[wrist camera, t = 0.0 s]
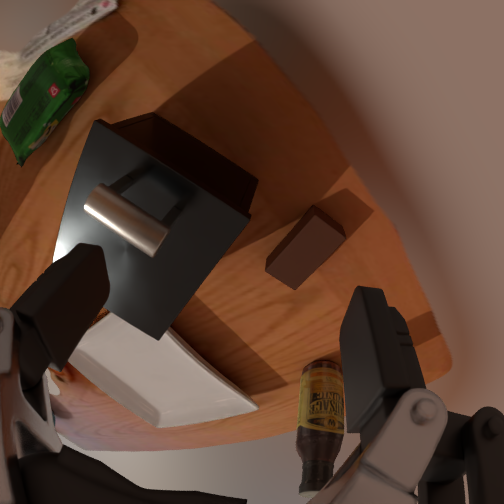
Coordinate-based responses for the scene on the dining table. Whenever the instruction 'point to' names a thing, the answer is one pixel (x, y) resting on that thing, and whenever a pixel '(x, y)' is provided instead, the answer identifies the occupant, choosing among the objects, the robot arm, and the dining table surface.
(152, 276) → the bin lid
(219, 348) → the dining table surface
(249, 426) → the dining table surface
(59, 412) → the dining table surface
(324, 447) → the sauce bottle
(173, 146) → the waste bin
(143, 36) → the dining table surface
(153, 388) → the square plate
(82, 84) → the snack package
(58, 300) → the robot arm
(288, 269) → the chocolate bar
